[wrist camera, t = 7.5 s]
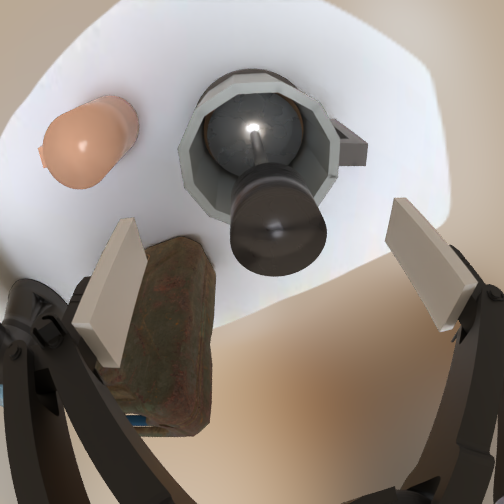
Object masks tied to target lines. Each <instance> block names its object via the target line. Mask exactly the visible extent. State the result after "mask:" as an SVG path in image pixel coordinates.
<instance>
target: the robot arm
mask: <svg viewBox="0 0 504 504" xmlns="http://www.w3.org/2000/svg"><path fill="white" fill-rule="evenodd" d="M385 242H386V244H387V245H388V247H389V248H390V250H391V251H392V253H393V254H394V256H395V257H396V259H397V261H398V262H399V263H400V265H401V267H402V268H403V270H404V272H405V273H406V275H407V276H408V278H409V280H410V281H411V283H412V285H413V286H414V288H415V290H416V291H417V293H418V295H419V296H420V298H421V300H422V301H423V303H424V305H425V306H426V308H427V310H428V312H429V314H430V316H431V317H432V319H433V321H434V323H435V325H436V326H437V328H438V330H439V332H443V331H446V330H450V329H453V327H454V325H455V324H456V322H457V320H459V322H460V324H461V326H460V328H459V329H458V331H457V333H456V334H455V336H454V337H453V339H452V342H454V340H455V339H456V338H457V340H456V345H455V350H454V354H453V359H452V363H451V367H450V371H449V375H448V379H447V383H446V387H445V390H444V393H443V396H442V400H441V403H440V406H439V409H438V412H437V416H436V418H435V421H434V424H433V427H432V430H431V432H430V435H429V438H428V440H427V443H426V445H425V448H424V450H423V453H422V455H421V457H420V460H419V462H418V464H417V465H416V467H415V468H414V470H413V471H412V472H411V473H410V474H409V476H408V477H407V478H406V480H405V482H404V484H403V485H402V487H401V489H400V490H395V486H394V487H391V488H388V489H385V490H382V491H378V492H375V493H372V494H368V495H365V496H362V497H359V498H356V499H353V500H350V501H347V502H343V503H341V504H482V501H483V499H484V496H485V493H486V490H487V488H488V485H489V482H490V479H491V476H492V472H493V469H494V464H495V460H494V457H493V456H492V455H490V452H489V451H490V445H491V442H492V438H493V433H494V429H495V424H496V419H497V414H498V437H497V455H496V466H495V476H494V489H493V493H494V494H493V501H494V504H504V294H503V292H502V291H501V290H500V289H499V288H497V287H495V286H494V285H490V284H488V285H486V284H485V283H484V282H483V280H482V279H481V278H480V276H479V275H478V274H477V272H476V271H475V270H474V268H473V267H472V266H471V265H470V263H469V262H468V261H467V260H466V259H465V257H464V256H463V255H462V253H461V252H460V251H459V250H457V249H456V248H455V247H454V246H452V245H448V244H447V242H446V241H445V240H444V239H443V238H442V236H441V235H440V234H439V233H438V232H437V231H436V230H435V228H434V227H433V226H432V225H431V224H430V223H429V222H428V221H427V219H426V218H425V217H424V216H423V215H422V214H421V213H420V212H419V211H418V210H417V209H416V208H415V207H414V206H413V204H412V203H411V202H410V201H409V200H408V199H407V198H394V201H393V206H392V211H391V216H390V220H389V225H388V229H387V234H386V238H385ZM147 262H148V261H147V258H146V255H145V252H144V248H143V245H142V242H141V239H140V236H139V232H138V229H137V226H136V222H135V219H134V217H133V218H125V219H120V221H119V222H118V224H117V226H116V228H115V230H114V232H113V234H112V236H111V238H110V239H109V241H108V243H107V245H106V247H105V249H104V251H103V253H102V255H101V257H100V259H99V261H98V264H97V266H96V268H95V270H94V272H93V274H92V276H91V277H84V278H83V279H82V280H81V282H80V283H79V284H78V285H77V287H76V289H75V291H74V293H73V296H72V297H71V300H70V303H69V304H68V306H67V304H66V303H65V302H64V301H63V299H62V298H61V297H60V296H59V295H58V294H56V293H55V292H54V291H53V290H51V289H50V288H48V287H47V286H45V285H43V284H41V283H39V282H37V281H34V280H30V279H21V280H18V281H17V282H15V284H14V285H13V287H12V289H11V290H10V292H9V296H8V302H7V307H6V311H5V317H4V320H3V322H2V324H1V323H0V406H2V407H4V422H5V433H6V443H7V450H8V458H9V464H10V469H11V475H12V480H13V484H14V489H15V493H16V497H17V501H18V504H90V501H89V498H88V496H87V493H86V490H85V487H84V484H83V481H82V478H81V475H80V472H79V469H78V465H77V462H76V458H75V455H74V451H73V447H72V443H71V439H70V435H69V431H68V426H67V422H66V417H65V412H64V408H65V409H66V412H67V414H68V416H69V418H70V421H71V423H72V425H73V427H74V429H75V431H76V433H77V435H78V437H79V438H80V440H81V442H82V444H83V446H84V448H85V450H86V451H87V453H88V455H89V457H90V458H91V460H92V462H93V463H94V465H95V467H96V469H97V470H98V472H99V473H100V475H101V477H102V478H103V480H104V481H105V483H106V484H107V486H108V487H109V489H110V490H111V492H112V493H113V495H114V496H115V498H116V499H117V500H118V502H119V503H120V504H197V503H196V502H195V501H194V500H193V499H192V498H191V497H190V496H189V495H188V494H187V493H186V492H185V491H184V490H183V489H182V487H181V486H180V485H179V484H178V483H177V482H176V481H175V480H174V478H173V477H172V476H171V475H170V474H169V473H168V471H167V470H166V469H165V468H164V467H163V466H162V464H161V463H160V462H159V460H158V459H157V458H156V457H155V456H154V454H153V453H152V452H151V450H150V449H149V448H148V446H147V445H146V444H145V442H144V441H143V440H142V439H141V437H140V436H139V434H138V433H137V431H136V430H135V429H134V427H133V426H132V424H131V423H130V422H129V420H128V419H127V417H126V416H125V414H124V413H123V411H122V410H121V408H120V407H119V405H118V403H117V402H116V400H115V399H114V397H113V395H112V394H111V392H110V391H109V389H108V387H107V386H106V384H105V382H104V381H103V379H102V377H101V375H100V374H99V372H98V370H97V369H96V368H95V365H96V361H97V360H98V361H99V362H100V364H101V365H102V366H103V367H111V368H120V364H121V359H122V355H123V350H124V346H125V342H126V338H127V334H128V330H129V326H130V322H131V318H132V314H133V310H134V307H135V303H136V299H137V296H138V292H139V289H140V285H141V282H142V278H143V275H144V272H145V268H146V265H147ZM63 405H64V406H63Z"/></svg>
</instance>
